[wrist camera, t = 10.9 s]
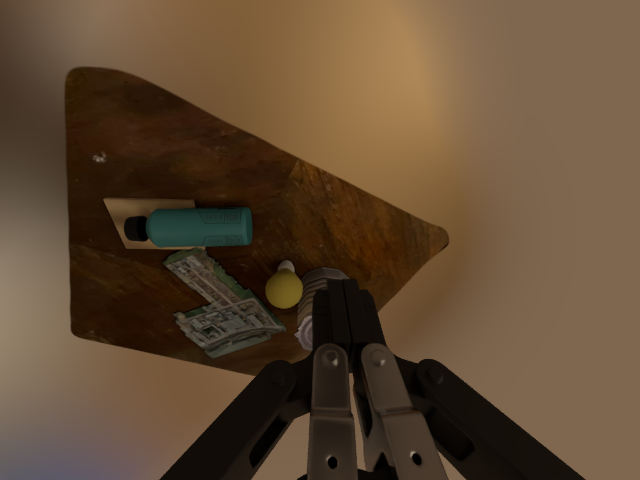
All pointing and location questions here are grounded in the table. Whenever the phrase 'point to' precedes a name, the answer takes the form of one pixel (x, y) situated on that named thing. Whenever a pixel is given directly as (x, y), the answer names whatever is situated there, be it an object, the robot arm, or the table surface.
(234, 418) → the robot arm
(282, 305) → the light bulb
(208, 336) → the model
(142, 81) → the table surface
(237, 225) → the beverage bottle
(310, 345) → the can
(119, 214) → the mat
